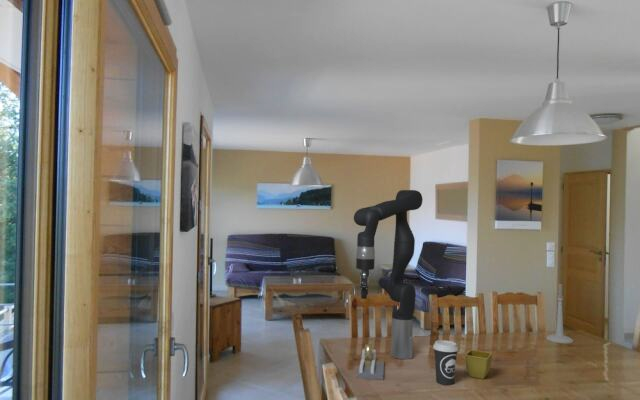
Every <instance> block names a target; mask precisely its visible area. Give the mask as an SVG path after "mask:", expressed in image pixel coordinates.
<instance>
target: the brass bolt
mask: <svg viewBox="0 0 640 400" xmlns="http://www.w3.org/2000/svg"><path fill="white" fill-rule="evenodd" d="M364 349H365V358H364V360H365V366H371V361H372V350H373V345H372V344H370V343H366V344H364Z"/></svg>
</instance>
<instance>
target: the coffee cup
mask: <svg viewBox="0 0 640 400" xmlns="http://www.w3.org/2000/svg"><path fill="white" fill-rule="evenodd" d="M432 348H433V351H434V364H435V365H434V366H435V369H434V370H435V382H436V383H437V384H439V385H442V386H452V385H454V383H455V375H456V366H457V358H458V357H457V356H458V351H459V350H460V349H459V347H458V344H457V343H456V342H455V341H451V340H447V339H446V340H445V339H444V340H440V339H439V340H436V341H435V342H434V344H433V346H432Z"/></svg>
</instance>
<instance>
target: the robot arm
mask: <svg viewBox="0 0 640 400" xmlns="http://www.w3.org/2000/svg"><path fill="white" fill-rule="evenodd" d="M423 200H424V199H423V196H422V193H421V192H420V190H419V191H418V190H416V189H401V190H398V192H397V193H396V195H395V199H391V200H385V201H382V202H380V203H376V204H375V205H371V206H367V207H362V208H359V209H357V210H356V211H355V213H354V215H353V222H354V223H355V224H356V225H358V226H361V227H365V228H364V230H363V231H360V232H358V234H357V239H356V241H357V244H356V253H355V254H356V256H355V257H356V259H355V260H356V261H355V262H356V263H355V267H356V269H357V270H361V272H360V273H359V279H360V280H359V284H360V294H361V295H360V298H361V299H362V300H364V299H365V300H367V296H368V295H369V285H370V284H369V283H370V277H371V273H370V270H374V269H375V259H376V258H375V257H376V256H375V254H376V252H375V235H376V233H377V230H378V226H379V222H380V221H384V220H386V219H389V218H391V217H393V216H395V228H394V229H395V230H394V231H395V232H394V241H393V257H392V258H393V259H392V267H391V268H392V269H391V276H390V280H389V281H390V282H389V286H388V287H389V288H388V295H389V298H390V300H392V301H393V302H396V303H399V308H398V309H394V310H393V311H392V313H391V314H392V315H391V347H390V348H391V349H390V354H391V355H390V356H391V357H392V358H394V359H398V360H408V359H409V360H410V359H413V339H414V338H413V328H414V327H413V323H414V321H413V319H414V313H415V309H416V289H415V286H414V285H413V284H412V283H409V282H404V280H405V279H404V278H405V271H406V270H407V269H406V268H407V267H408V265H409V264H410V262H411V260H412V259H413V257H414V255H415V245H416V239H415V236H414V233H413V230H412V229H411V226H410V225H409V221H408V211H409V212H410V211H416V210H418V209H420V208H421V206H422V205H423Z"/></svg>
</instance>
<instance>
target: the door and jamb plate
mask: <svg viewBox="0 0 640 400" xmlns="http://www.w3.org/2000/svg"><path fill="white" fill-rule="evenodd" d="M376 352H377V350H376V349H372V361H371V366H365V360H364V358H365V348H362V351H361V357H360V361H359V366H358V369H357V374H356V378H359V379H367V380H368V379H372V380H384V372H385V359H382V358H381V359H380V358H376V357H377V355H376V354H377V353H376Z"/></svg>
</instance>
